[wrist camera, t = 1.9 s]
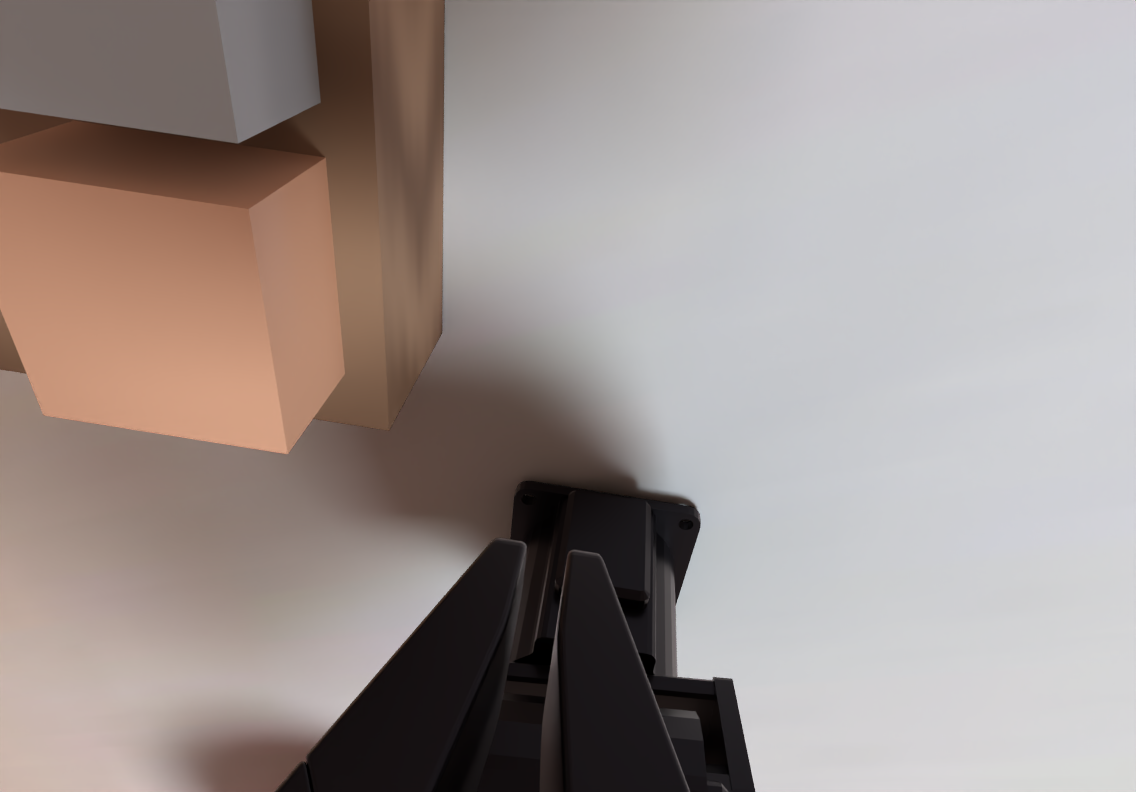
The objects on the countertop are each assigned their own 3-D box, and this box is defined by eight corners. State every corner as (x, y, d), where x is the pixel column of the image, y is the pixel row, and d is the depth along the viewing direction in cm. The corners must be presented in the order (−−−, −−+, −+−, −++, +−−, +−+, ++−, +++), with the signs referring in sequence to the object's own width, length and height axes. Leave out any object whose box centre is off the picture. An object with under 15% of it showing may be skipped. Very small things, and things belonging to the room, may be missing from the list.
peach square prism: (345, 373, 16) (287, 454, 13) (137, 341, 16) (43, 415, 14) (325, 157, 13) (248, 209, 11) (74, 120, 13) (-60, 162, 11)
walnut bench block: (442, 333, 21) (389, 430, 17) (63, 274, 21) (-80, 356, 17) (446, -235, 14) (353, -311, 9) (-135, -313, 14) (-470, -416, 10)
